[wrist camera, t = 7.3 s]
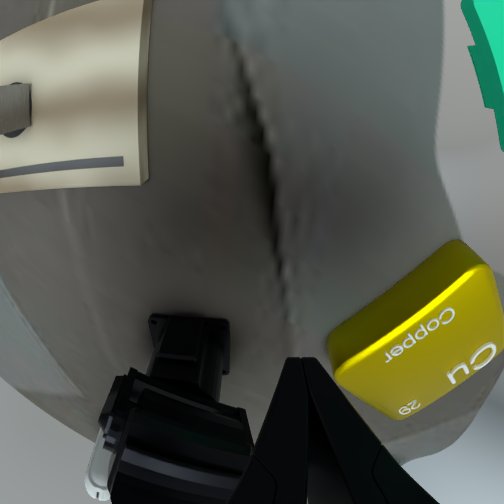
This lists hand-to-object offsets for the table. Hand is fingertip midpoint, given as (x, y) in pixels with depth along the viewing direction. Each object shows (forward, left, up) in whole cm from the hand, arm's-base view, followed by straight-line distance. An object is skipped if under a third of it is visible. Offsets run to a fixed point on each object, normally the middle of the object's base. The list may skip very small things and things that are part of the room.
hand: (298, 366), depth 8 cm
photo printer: (-32, +19, -12) cm, 39 cm away
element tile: (-11, -15, -13) cm, 22 cm away
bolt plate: (+8, +21, -12) cm, 25 cm away
